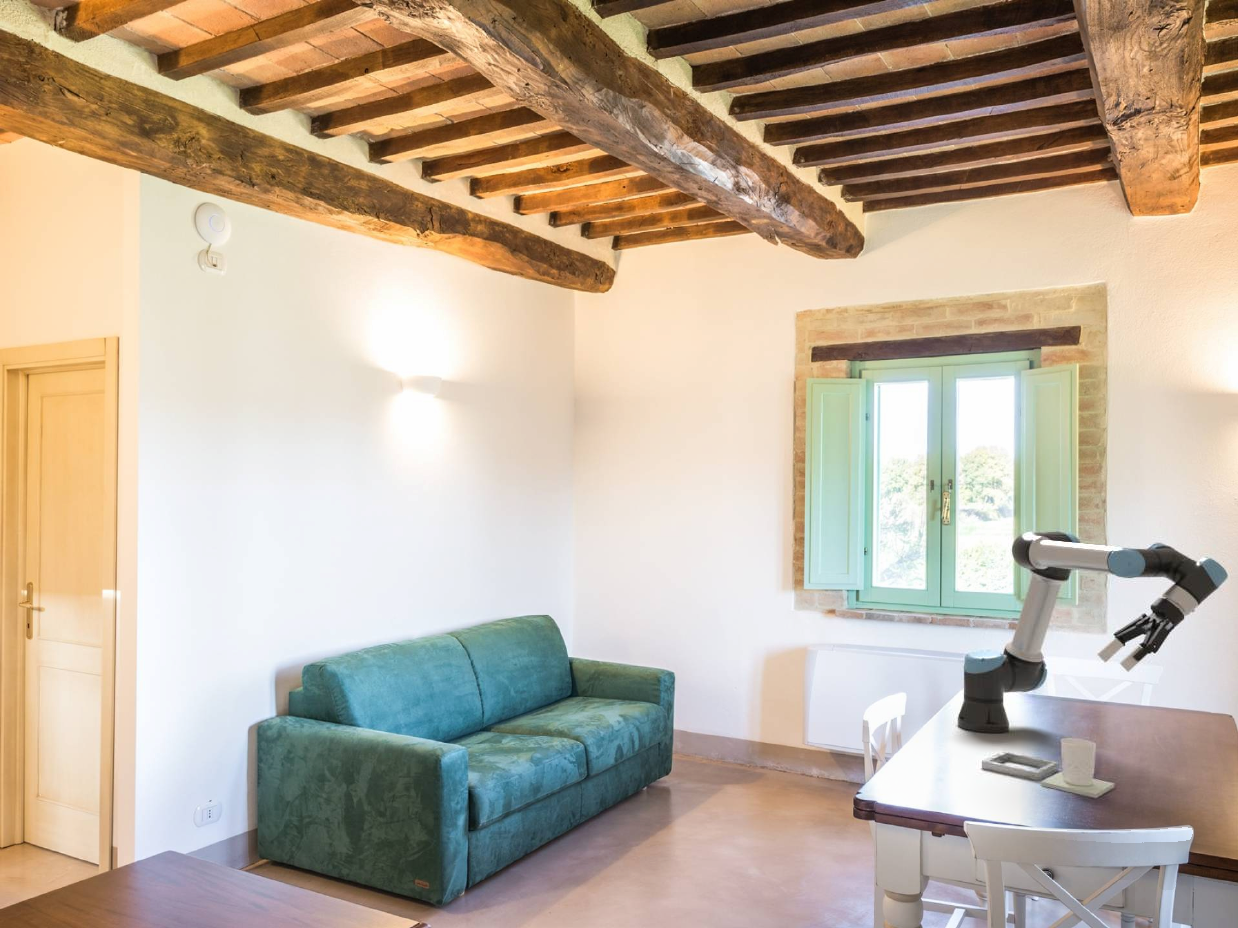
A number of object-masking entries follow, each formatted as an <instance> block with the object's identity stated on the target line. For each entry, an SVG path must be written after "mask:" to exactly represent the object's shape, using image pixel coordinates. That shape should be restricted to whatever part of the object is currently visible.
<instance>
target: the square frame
mask: <svg viewBox="0 0 1238 928" xmlns="http://www.w3.org/2000/svg"><path fill="white" fill-rule="evenodd" d="M1007 761H1008V762H1013V763H1018V764H1022V765H1027V766H1032V767H1037V768H1038V769H1035V770H1031V769H1026V768H1021V767H1017V766H1012V765H1008V764H1005V763H1004V762H1007ZM981 769H984V770H988V771H992V772H996V773H997V772H998V773H1001V774H1005V775H1009V776H1013V777H1018V778H1023V779H1027V780H1032V781H1036V782H1038V781H1039V780H1041V779H1043V778H1046V777H1048V776H1050V775H1052V774H1054V773H1056V772H1058V771H1059V762H1058V761H1057V762H1056V761H1052V760H1048V759H1043V758H1038V757H1034V756H1029V755H1024V754H1019V753H1015V752H1009V751H1006V750H1005V751H1002V752H999V753H997V754H995V755H992V756H990V757H988V758H985V759H982V760H981Z"/></svg>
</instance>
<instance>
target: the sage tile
mask: <svg viewBox="0 0 1238 928" xmlns="http://www.w3.org/2000/svg"><path fill="white" fill-rule="evenodd" d="M1040 785H1041V786H1042V787H1046V788H1051V789H1055V790H1059V791H1065V792H1068V793H1072V794H1076V795H1081V796H1085V797H1090V798H1093V799H1097V798H1099V797H1100V796H1103V795H1104V794H1106V793H1108V792H1109V791H1111V790H1113V789H1114V788H1115V783H1114V782H1109V781H1105V780H1102V779H1101V780H1100V779H1098V778H1097V779H1096V778H1093V784H1092V785H1090V786H1079V785H1073V784H1069V783H1067V782H1065V781H1064V780H1063V771H1060V772H1057V773H1056V774H1053V775H1051V776H1049V777H1047V778H1045V779H1044V780H1041V782H1040Z"/></svg>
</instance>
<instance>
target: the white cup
mask: <svg viewBox="0 0 1238 928" xmlns="http://www.w3.org/2000/svg"><path fill="white" fill-rule="evenodd" d="M1060 745H1061V746H1060V747H1061V749H1060V750H1061V767H1062V772H1063V780H1064V781H1065V782H1067V783H1069V784H1073V785H1079V786H1090V785H1092V784H1093V779H1094V774H1095V764H1096V747H1097V744H1096V742H1093V741H1092V740H1087V739H1082V738H1076V737H1075V738H1074V737H1073V738H1072V737H1067V738H1062V739H1060Z"/></svg>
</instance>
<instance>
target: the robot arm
mask: <svg viewBox="0 0 1238 928" xmlns="http://www.w3.org/2000/svg"><path fill="white" fill-rule="evenodd" d="M1011 555H1012V558H1013V559H1014V561H1015V562H1016V563H1017V564H1018V565H1019V567H1022V568H1023V569H1027V570H1029V572H1030V573H1031V577H1030V580H1029V584H1028V587H1027V591H1026V594H1025V598H1024V601H1023V604H1022V607H1021V612H1020V614H1019V617H1018V618H1019V619H1018V620H1017V624H1016V628H1015V631H1014V635H1013V637H1012V641H1011V642H1008V643H1006V644H1005V647H1004V649H1003V652H1001V651H998V650H992V649H991V650H974V651H971V652H969V653H967V654H966V655H965V657H964V664H963V702H962V704H961V707H960V710H959V713H958V716H957V726H958V727H960V728H962V729H964V730H968V731H973V732H979V733H987V734H1001V733H1006V732H1009V731H1010V722H1009V721H1010V720H1009V718H1008V715H1007V710H1006V708H1005V705H1004V693H1005V694H1006V693H1018V692H1020V693H1026V692H1027V693H1028V692H1031V691H1035V690H1037V689H1039V688H1041V687H1042V686H1043V685H1044V683H1045V682H1046V680H1047V676H1048V669H1047V668H1046V667H1047V665H1046V664H1047V663H1046V661H1045V660H1044V659H1045V657H1044V654H1043V653H1042V651H1041V650H1042V647H1043V644H1044V640H1045V637H1046V635H1047V630H1048V627H1049V624H1050V622H1051V619H1052V614H1053V611H1054V608H1055V606H1056V602H1057V599H1058V596H1059V592H1060V590H1061V586H1062V584H1063V583H1065V582H1067V581H1069V579H1070V576H1071V573H1072V571H1080V572H1081V571H1083V572H1089V573H1098V574H1107V575H1114V576H1116V577H1119V578H1124V579H1133V578H1165V579H1168V580H1169V581H1171V582H1173V584H1172V585H1171V586H1170V587H1168V589H1167V590H1166V591H1164V592H1163V593H1162V595H1161V597H1158V598H1157V599H1156V600H1155V601H1154V602H1153V603H1152V604H1151V605H1150V610H1151V614H1149V615H1147V614H1146V613H1142V614H1140V616H1138V617H1137V618H1136V619H1135V620H1133V621H1131V622H1129V623H1128V624H1126V625H1125V626H1123V627H1122V628H1120V629H1118V630H1117V631H1116V632H1114V633H1113V636H1114V637H1113V639H1112V640H1111V641H1110V642H1109V643H1108V644H1107V645H1106V646H1105V647H1103V649H1101V650H1100V651H1099V652H1098V653H1097V654H1096V656H1098V657H1099V658H1100V659H1101V660H1102V661H1103V662H1104V663H1107V662H1108V661H1109V660H1110V659H1111V658H1112V657H1113V656H1115V655H1116V653H1117V652H1118V651H1120V650H1121V649H1122V648H1123V647H1126V643H1127V642H1130V641H1131V640H1134V639H1136V638H1137V637H1140V636H1142V635H1144V639H1143V641H1142V642H1141V643H1139V644H1138V645H1137V646H1136V648H1135V649H1133V650H1132V651H1131V652H1130V653H1128V655H1127V656H1126V657H1124V658H1123V659H1122V660H1121V661H1120V662H1119V664H1120V665H1121V667H1123V669H1125V671H1126V672H1128V673H1129V672H1130V671H1131V670H1133V668H1134V667H1135V666H1137V664H1139V663H1140V662H1141V661H1142V660H1143V659H1144V658H1145V657H1147V655H1150V654H1152V653H1153V654H1156V653H1157V652H1159V650H1160V648H1161V646H1162V645H1163V644H1164V643H1165V641H1166V640H1167V637H1168V635H1170V633H1171V632H1172V631H1173V630H1174V629H1175V628H1176V627H1178V626H1179V624H1180V623H1182V621H1184V619H1185V617H1188V616H1189V615H1190V614H1191V613H1194V612H1195V611H1196V608H1198V607H1199V606H1200V605H1201V603H1203V602H1204V601H1205V600H1206V599H1207V598H1208V597H1210V596H1211V595H1212V594H1213V593H1214V592H1215V591H1217V590H1218V589H1220V586H1221V585H1222V584H1223V583H1224V582H1225V581H1226V580H1227V579H1228V573H1227V570H1226V569H1225V567H1224V566H1222V564H1220V563H1219V562H1218V561H1217V560H1215V559H1213V558H1211V557H1206V556H1204V557H1201V559H1198V561H1197V560H1194V559H1192V558H1190V557H1189V556H1187V555H1185V554H1183V553H1181V552H1179V551H1178V550H1176V549H1175V548H1174V547H1172V546H1170V545H1167V544H1165V543H1162V542H1155V543H1153V544H1151V545H1149V546H1147V548H1130V547H1118V546H1117V547H1116V546H1106V545H1100V544H1099V545H1097V544H1087V543H1082V542H1081V541H1080V539H1079V538H1078V537H1077V536H1076V535H1074V534H1073V533H1070V532H1066V531H1065V532H1064V531H1059V530H1057V531H1035V530H1034V531H1026V532H1024V533H1021V534H1020V535H1018V536H1017V537H1016V538H1015V539H1014V541H1013V543H1012V547H1011Z"/></svg>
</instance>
